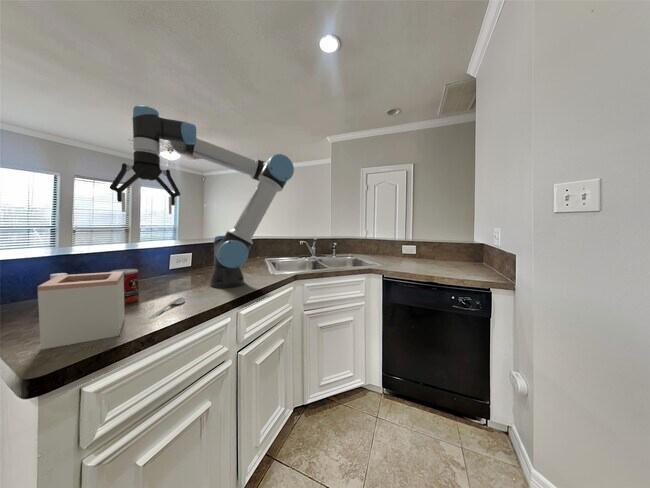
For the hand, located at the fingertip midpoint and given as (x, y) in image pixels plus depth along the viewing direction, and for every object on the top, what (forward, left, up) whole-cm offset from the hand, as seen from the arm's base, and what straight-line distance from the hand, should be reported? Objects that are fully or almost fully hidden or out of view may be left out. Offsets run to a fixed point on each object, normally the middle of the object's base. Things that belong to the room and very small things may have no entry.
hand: (148, 213), depth 87 cm
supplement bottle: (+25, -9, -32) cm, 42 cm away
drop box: (+12, +26, -32) cm, 43 cm away
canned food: (+7, 0, -32) cm, 33 cm away
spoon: (-4, +17, -32) cm, 37 cm away
